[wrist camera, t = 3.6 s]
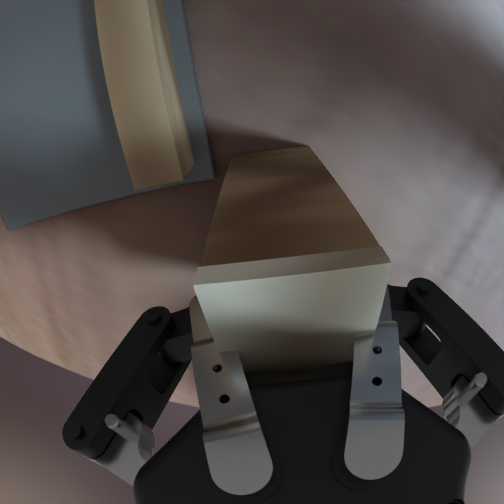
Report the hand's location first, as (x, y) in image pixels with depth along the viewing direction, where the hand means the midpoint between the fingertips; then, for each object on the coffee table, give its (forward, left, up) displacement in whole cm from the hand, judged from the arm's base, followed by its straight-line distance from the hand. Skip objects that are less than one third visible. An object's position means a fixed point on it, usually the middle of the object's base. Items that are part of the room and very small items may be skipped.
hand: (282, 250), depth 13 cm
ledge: (+5, -12, -3) cm, 13 cm away
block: (0, 0, -3) cm, 3 cm away
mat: (+12, -12, -3) cm, 17 cm away
